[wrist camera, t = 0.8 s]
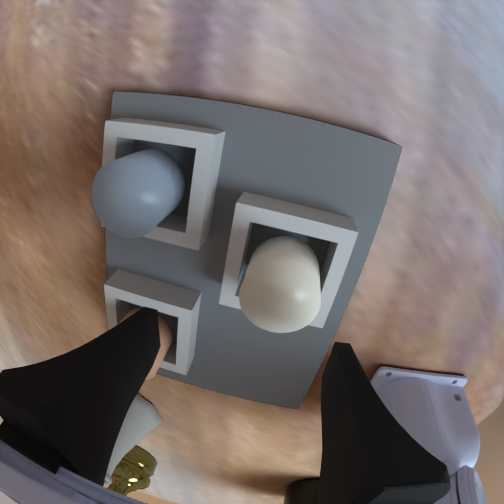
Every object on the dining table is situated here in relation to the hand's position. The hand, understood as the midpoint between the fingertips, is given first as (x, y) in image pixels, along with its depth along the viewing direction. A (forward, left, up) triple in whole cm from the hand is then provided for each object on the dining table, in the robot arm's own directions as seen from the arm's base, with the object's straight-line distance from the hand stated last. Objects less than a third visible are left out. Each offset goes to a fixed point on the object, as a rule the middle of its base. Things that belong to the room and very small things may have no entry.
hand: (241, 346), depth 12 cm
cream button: (-1, -1, -5) cm, 6 cm away
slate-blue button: (+6, -4, -5) cm, 9 cm away
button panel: (+2, +2, -8) cm, 9 cm away
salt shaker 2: (+11, +36, -9) cm, 39 cm away
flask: (+10, +22, -9) cm, 26 cm away
